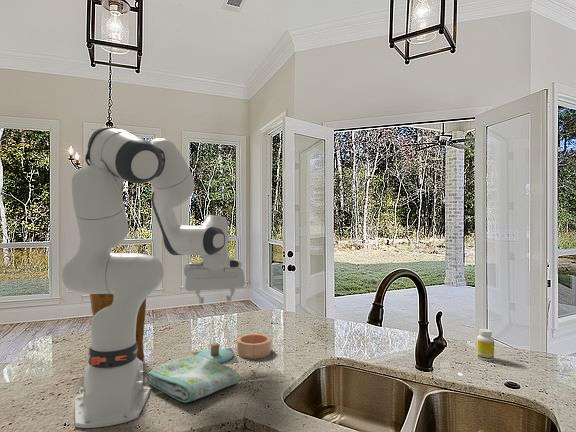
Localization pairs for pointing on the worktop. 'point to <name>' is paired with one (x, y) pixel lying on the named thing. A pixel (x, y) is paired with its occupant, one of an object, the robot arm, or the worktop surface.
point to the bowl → (253, 345)
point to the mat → (233, 360)
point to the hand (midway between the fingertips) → (215, 302)
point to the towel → (192, 377)
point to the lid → (216, 354)
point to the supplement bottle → (485, 345)
